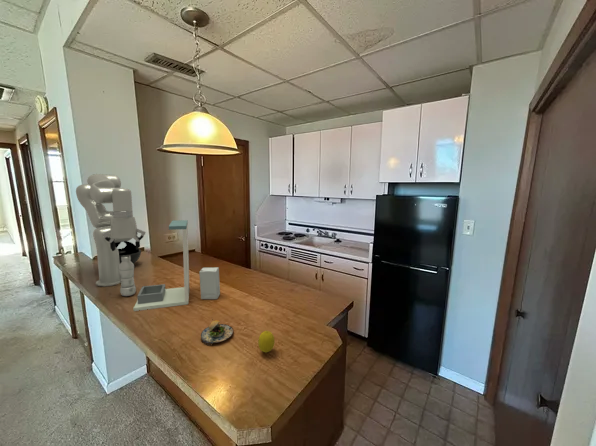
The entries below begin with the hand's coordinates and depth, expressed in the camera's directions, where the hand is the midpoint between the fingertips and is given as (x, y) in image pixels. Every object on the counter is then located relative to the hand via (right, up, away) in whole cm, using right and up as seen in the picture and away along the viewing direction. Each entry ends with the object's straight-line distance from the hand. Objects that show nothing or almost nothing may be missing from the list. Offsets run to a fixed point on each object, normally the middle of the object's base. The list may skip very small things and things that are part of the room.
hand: (125, 249), depth 121 cm
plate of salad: (+53, -30, -27) cm, 67 cm away
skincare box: (+39, -25, +5) cm, 47 cm away
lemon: (+73, -32, -35) cm, 87 cm away
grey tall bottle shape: (-1, -23, +4) cm, 24 cm away
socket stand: (+18, -24, +1) cm, 30 cm away
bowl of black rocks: (-31, -16, +44) cm, 56 cm away
